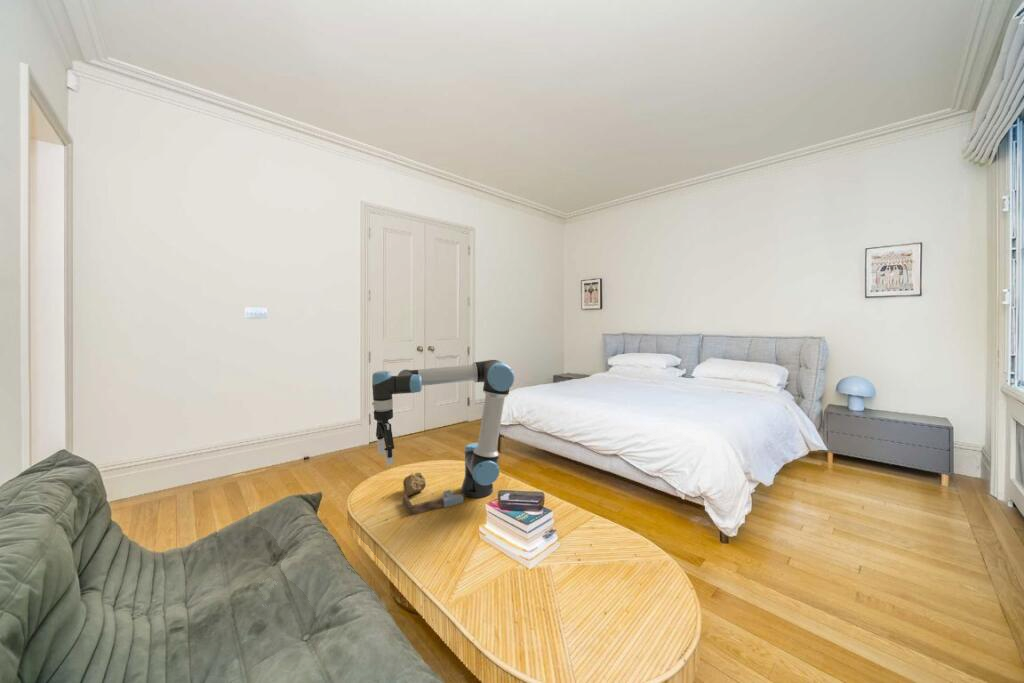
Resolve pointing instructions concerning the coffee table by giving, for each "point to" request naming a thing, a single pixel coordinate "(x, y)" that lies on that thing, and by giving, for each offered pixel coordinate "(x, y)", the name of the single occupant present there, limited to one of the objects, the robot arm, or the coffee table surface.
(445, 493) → the t block
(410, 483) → the rock
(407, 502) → the brown l-shaped block
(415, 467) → the coffee table surface
